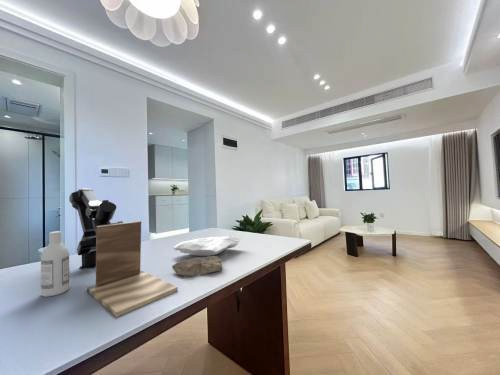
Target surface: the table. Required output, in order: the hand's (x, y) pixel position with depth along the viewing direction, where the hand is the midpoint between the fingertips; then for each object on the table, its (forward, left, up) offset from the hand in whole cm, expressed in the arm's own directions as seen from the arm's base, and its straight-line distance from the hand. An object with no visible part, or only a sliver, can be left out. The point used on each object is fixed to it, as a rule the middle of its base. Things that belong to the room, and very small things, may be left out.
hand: (114, 260), depth 79 cm
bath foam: (-15, -7, -7) cm, 18 cm away
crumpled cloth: (+33, +26, -7) cm, 43 cm away
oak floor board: (+10, -10, -7) cm, 16 cm away
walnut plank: (+3, -3, -6) cm, 8 cm away
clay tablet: (+30, +5, -8) cm, 31 cm away
